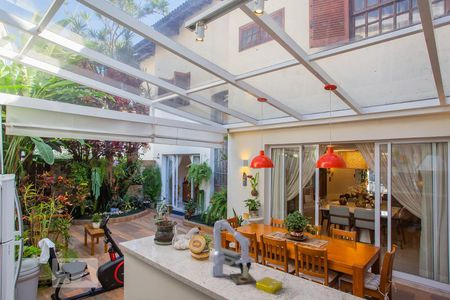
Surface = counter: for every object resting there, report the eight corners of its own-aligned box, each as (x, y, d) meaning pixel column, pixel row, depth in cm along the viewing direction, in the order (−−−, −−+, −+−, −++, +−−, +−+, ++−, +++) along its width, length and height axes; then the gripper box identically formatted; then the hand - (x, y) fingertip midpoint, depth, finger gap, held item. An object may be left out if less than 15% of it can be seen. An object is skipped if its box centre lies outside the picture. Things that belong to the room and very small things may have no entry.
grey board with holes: (236, 284, 201) (236, 282, 202) (229, 276, 218) (229, 273, 218) (256, 282, 206) (256, 280, 206) (248, 274, 222) (248, 272, 222)
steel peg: (243, 277, 206) (243, 267, 206) (241, 275, 209) (241, 266, 210) (247, 276, 207) (248, 267, 207) (246, 274, 210) (246, 265, 211)
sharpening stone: (215, 261, 252) (215, 249, 253) (220, 259, 258) (221, 247, 258) (235, 268, 235) (235, 255, 236) (241, 265, 241) (241, 253, 242)
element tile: (265, 282, 208) (265, 275, 209) (283, 287, 199) (283, 281, 199) (254, 288, 197) (255, 281, 197) (273, 295, 187) (273, 287, 188)
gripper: (237, 257, 203) (237, 275, 202) (255, 255, 207) (255, 273, 206) (234, 254, 210) (234, 272, 209) (252, 252, 214) (251, 270, 213)
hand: (244, 272), depth 208 cm, fingers closed on steel peg, 4 cm apart
